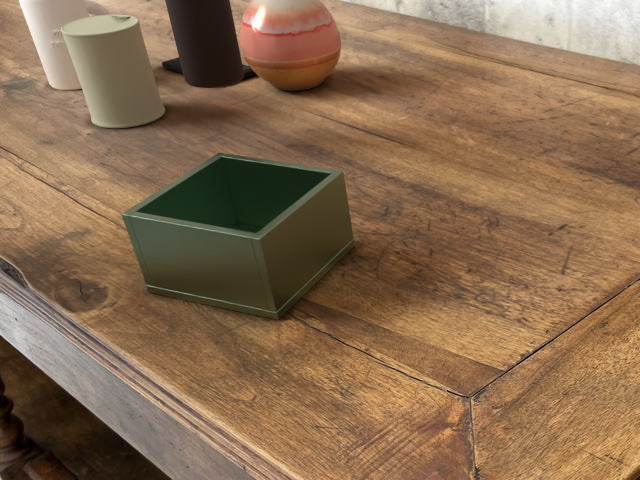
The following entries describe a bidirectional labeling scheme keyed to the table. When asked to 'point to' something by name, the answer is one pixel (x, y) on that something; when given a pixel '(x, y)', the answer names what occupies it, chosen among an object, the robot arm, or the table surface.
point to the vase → (290, 42)
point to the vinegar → (206, 42)
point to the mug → (57, 35)
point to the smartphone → (176, 66)
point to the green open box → (242, 233)
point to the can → (114, 70)
